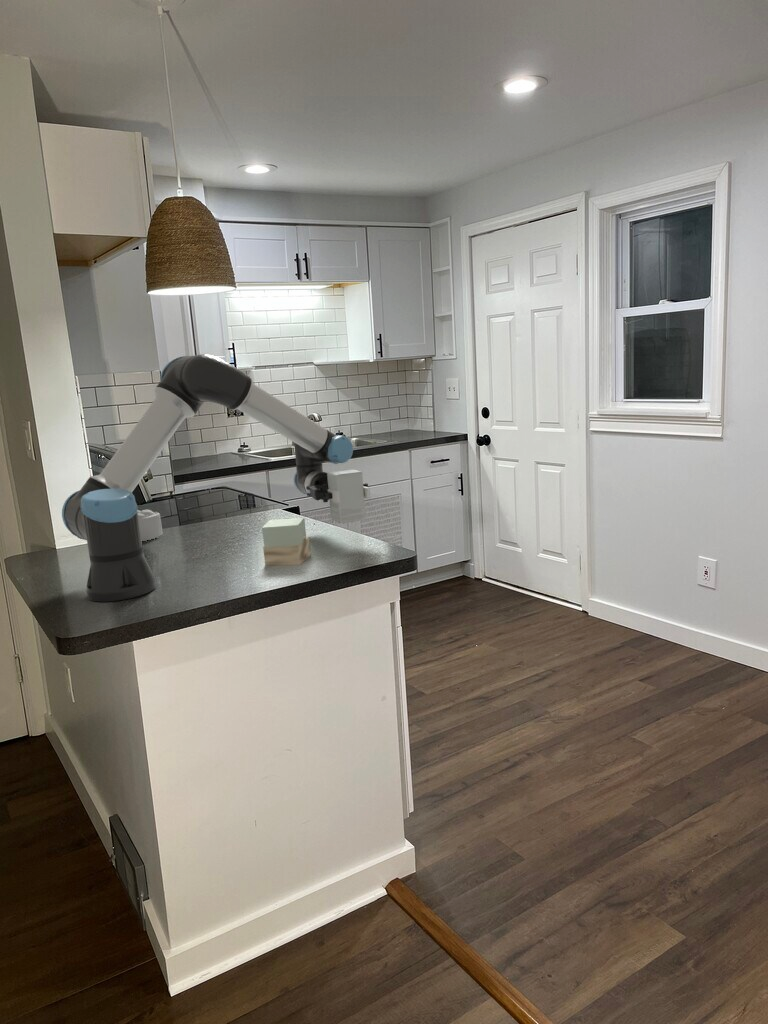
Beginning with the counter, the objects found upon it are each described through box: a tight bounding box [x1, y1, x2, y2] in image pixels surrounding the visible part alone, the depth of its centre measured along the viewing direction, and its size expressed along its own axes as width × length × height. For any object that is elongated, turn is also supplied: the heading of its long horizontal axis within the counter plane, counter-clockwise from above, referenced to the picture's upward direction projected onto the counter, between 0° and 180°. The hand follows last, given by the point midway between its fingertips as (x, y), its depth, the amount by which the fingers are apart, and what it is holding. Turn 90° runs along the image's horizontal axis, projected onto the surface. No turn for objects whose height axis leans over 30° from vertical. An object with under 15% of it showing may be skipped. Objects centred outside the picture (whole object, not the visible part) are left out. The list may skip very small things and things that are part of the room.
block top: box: [261, 517, 307, 547], centre depth 191 cm, size 9×9×5 cm
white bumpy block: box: [137, 509, 164, 541], centre depth 233 cm, size 10×13×9 cm
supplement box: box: [326, 468, 367, 524], centre depth 196 cm, size 7×7×13 cm
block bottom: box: [262, 536, 312, 566], centre depth 192 cm, size 9×9×5 cm
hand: (353, 495), depth 191 cm, fingers closed on supplement box, 7 cm apart
